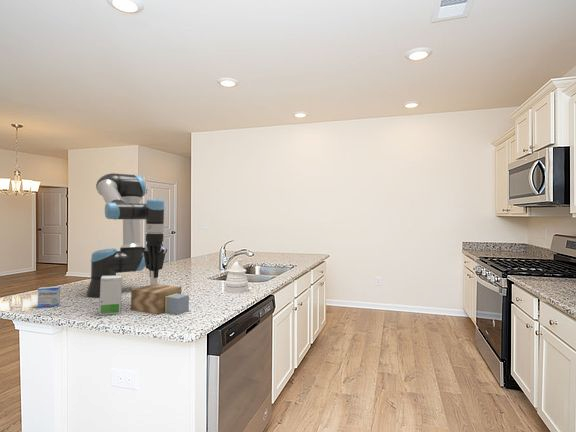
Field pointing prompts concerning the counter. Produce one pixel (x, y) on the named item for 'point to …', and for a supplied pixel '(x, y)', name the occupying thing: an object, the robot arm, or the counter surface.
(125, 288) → the counter surface
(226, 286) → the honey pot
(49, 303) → the medicine box
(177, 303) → the slate-blue block
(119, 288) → the skincare box
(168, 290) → the oak plinth
